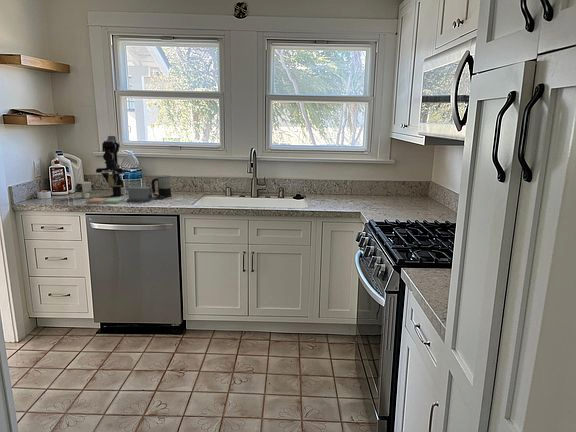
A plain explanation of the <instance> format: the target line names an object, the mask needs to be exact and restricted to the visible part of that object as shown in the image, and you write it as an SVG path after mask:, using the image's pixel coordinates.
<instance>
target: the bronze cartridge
mask: <svg viewBox="0 0 576 432" xmlns="http://www.w3.org/2000/svg"><path fill="white" fill-rule="evenodd" d="M107 176H108V183H107V185H108V187H114V186H116V183H115V180H114V174H112V173H109V174H107Z"/></svg>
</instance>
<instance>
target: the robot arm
mask: <svg viewBox="0 0 576 432" xmlns="http://www.w3.org/2000/svg"><path fill="white" fill-rule="evenodd" d="M101 144H102V147H101V151H102V152H103V155H102V158H103V160H104V161H105V162H104V164H105V167H98V168H96V169H95V173H98V174H101V175H102V176H103V178H104V179H105V181H106V183H107V184H108V176H107V174H110V173H111V174H114V180H115V183H116V186H114V187H110V188H112V194H111V195H110V196H111V197H121V196H123V195H124V193H122V188H124V185H125V184H124V181H123V179H122V177H121V175H122V174H125V173H127V169H126V168H124V167H121V166H120V164H119V162H118V161H119V159H118V153H119V151H120V148H121V144H120V140H119V139H118V138H117V137H116V136H115V135H108V136H107V139H106V140H104V141H102V143H101Z"/></svg>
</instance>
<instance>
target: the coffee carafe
mask: <svg viewBox="0 0 576 432" xmlns="http://www.w3.org/2000/svg"><path fill="white" fill-rule="evenodd" d="M171 177H172V176H171V175H158V176H157V177H154V178H153V179H152V180H151V181H150V182H151V190H152V196H153V197H156V198H158V199H163V198H169V197H172V185H171V184H172V183H171ZM155 182H157V191H158V193H157V194H156V185H155Z"/></svg>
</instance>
